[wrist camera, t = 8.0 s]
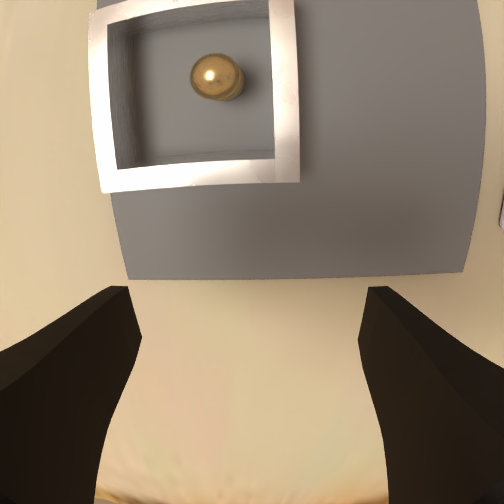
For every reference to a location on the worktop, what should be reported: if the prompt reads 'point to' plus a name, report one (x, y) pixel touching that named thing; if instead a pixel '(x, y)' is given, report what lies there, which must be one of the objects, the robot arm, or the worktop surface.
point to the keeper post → (217, 77)
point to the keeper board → (316, 146)
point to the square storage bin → (124, 103)
